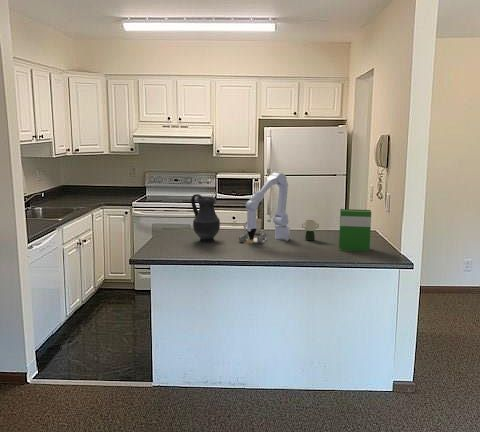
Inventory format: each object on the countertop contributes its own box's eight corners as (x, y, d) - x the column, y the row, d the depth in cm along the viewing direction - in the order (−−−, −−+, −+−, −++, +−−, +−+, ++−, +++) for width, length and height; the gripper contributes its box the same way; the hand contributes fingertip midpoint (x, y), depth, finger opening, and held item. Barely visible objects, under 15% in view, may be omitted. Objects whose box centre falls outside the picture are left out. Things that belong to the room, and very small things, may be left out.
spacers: (266, 239, 326) (266, 233, 325) (261, 244, 312) (261, 238, 312) (244, 237, 330) (244, 232, 329) (238, 242, 316) (238, 237, 315)
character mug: (318, 239, 330) (318, 219, 327) (318, 241, 323) (319, 221, 320) (301, 238, 331) (302, 219, 329) (301, 241, 324) (302, 221, 322)
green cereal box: (339, 250, 300) (340, 211, 296) (339, 247, 307) (340, 209, 303) (369, 251, 297) (371, 211, 293) (368, 248, 304) (370, 209, 300)
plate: (266, 239, 327) (266, 238, 327) (261, 245, 312) (261, 244, 312) (244, 238, 331) (244, 237, 331) (238, 243, 316) (238, 242, 316)
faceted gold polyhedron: (254, 242, 317) (254, 238, 316) (251, 243, 312) (251, 240, 312) (248, 241, 318) (248, 238, 318) (245, 243, 314) (245, 239, 314)
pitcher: (207, 245, 312) (207, 197, 306) (183, 240, 324) (182, 195, 319) (225, 240, 325) (225, 194, 320) (201, 236, 338) (200, 192, 332)
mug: (260, 235, 341) (260, 220, 339) (242, 234, 343) (242, 220, 341) (262, 232, 349) (262, 218, 347) (244, 232, 351) (244, 218, 349)
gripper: (248, 216, 324) (248, 237, 326) (242, 221, 310) (242, 242, 312) (258, 217, 322) (258, 238, 324) (253, 221, 308) (253, 243, 311)
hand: (251, 240), depth 318 cm, fingers closed
